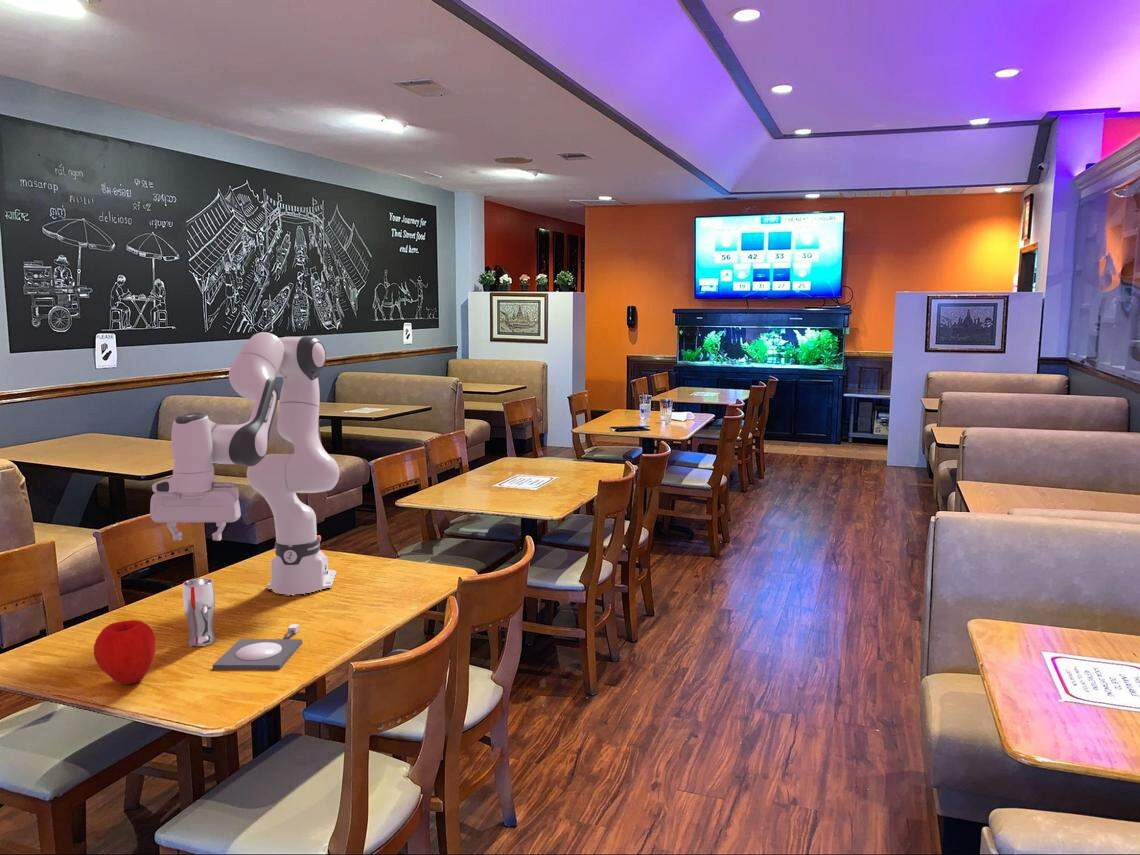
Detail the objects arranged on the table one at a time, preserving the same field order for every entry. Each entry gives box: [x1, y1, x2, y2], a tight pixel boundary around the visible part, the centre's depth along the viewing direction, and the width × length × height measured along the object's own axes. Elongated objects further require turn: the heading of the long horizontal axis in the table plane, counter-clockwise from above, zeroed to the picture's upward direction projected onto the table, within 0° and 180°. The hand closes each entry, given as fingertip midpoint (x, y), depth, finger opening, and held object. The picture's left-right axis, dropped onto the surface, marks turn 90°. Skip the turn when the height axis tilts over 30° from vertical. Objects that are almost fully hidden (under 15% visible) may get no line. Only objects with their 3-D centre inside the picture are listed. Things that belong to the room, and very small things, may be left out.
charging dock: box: [212, 623, 303, 670], centre depth 200 cm, size 23×15×2 cm, turn 179°
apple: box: [93, 619, 157, 685], centre depth 182 cm, size 12×12×13 cm
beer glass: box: [182, 577, 217, 647], centre depth 203 cm, size 7×7×15 cm
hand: (197, 540), depth 201 cm, fingers open, 8 cm apart
